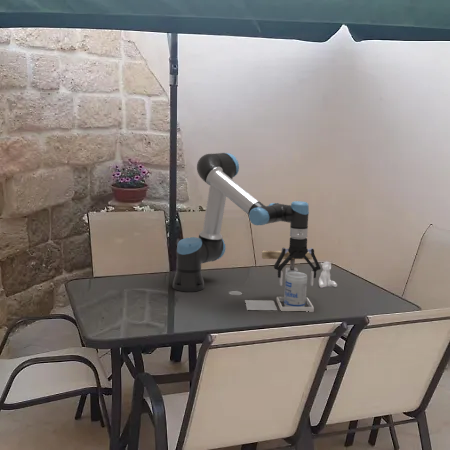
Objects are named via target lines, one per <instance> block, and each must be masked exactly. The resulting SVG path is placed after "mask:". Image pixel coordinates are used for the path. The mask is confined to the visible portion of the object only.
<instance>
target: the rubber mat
mask: <svg viewBox="0 0 450 450" xmlns="http://www.w3.org/2000/svg"><path fill="white" fill-rule="evenodd" d="M245 303H246V304H245ZM244 304H245V306H246V311H248V310H277V311H278V308H277V306H276V303H275V300H264V299H263V300H262V299H260V300H259V299H258V300H255V299H254V300H252V299H249V300H248V299H245V300H244Z"/></svg>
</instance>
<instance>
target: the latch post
mask: <svg viewBox="0 0 450 450" xmlns="http://www.w3.org/2000/svg"><path fill="white" fill-rule="evenodd" d="M288 272H299V269H298V267H294V269H290V266H289V267H286V266H285V276H284V278H286V273H288Z"/></svg>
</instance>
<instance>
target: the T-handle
mask: <svg viewBox="0 0 450 450" xmlns="http://www.w3.org/2000/svg"><path fill="white" fill-rule="evenodd" d="M281 252H282V250H262V251H261V259H263V260H265V259H266V260H278V258H279V256H280V254H281ZM289 254H290V253H289V252H287V253H286V254H285V255H284V257H283V259H282V260H285V259H286V258H287V257H288V255H289ZM305 256H306V257H307V258H308V259H309V260H313V258H312V256H311V254H310V253H309V252H307V254H306V255H305ZM295 260H296V259H294V258H292V259H291V260H290V261H289V268H290V269H294V268H295V266H296V264H295V263H296V261H295ZM301 260H305V259H304V258H302V259H301Z"/></svg>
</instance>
